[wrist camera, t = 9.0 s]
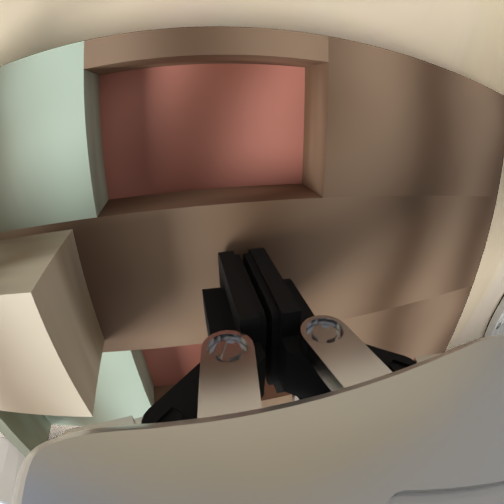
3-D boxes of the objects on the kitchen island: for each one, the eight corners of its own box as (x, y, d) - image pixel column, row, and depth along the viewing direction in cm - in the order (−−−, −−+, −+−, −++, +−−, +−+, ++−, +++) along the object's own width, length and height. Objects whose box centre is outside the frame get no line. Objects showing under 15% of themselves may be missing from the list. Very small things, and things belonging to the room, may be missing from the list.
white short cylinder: (-12, 424, 16) (-27, 487, 10) (55, 456, 19) (50, 520, 13) (-13, 447, 17) (-23, 500, 11) (44, 474, 20) (40, 527, 14)
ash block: (72, 229, 9) (30, 292, 6) (104, 339, 12) (92, 416, 8) (-43, 247, 8) (-94, 301, 5) (-2, 343, 10) (-30, 405, 7)
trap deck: (477, 92, 13) (549, 107, 8) (425, 333, 21) (466, 378, 16) (-48, 102, 7) (-125, 116, 3) (45, 393, 15) (30, 462, 11)
